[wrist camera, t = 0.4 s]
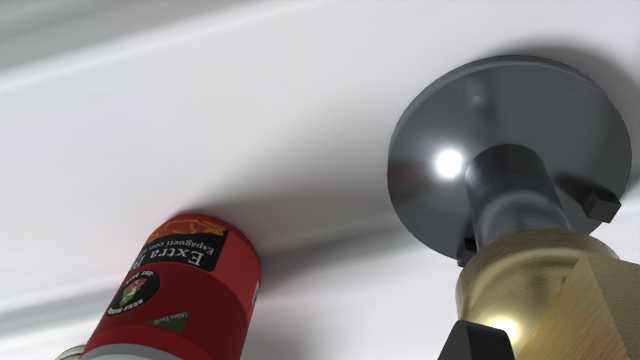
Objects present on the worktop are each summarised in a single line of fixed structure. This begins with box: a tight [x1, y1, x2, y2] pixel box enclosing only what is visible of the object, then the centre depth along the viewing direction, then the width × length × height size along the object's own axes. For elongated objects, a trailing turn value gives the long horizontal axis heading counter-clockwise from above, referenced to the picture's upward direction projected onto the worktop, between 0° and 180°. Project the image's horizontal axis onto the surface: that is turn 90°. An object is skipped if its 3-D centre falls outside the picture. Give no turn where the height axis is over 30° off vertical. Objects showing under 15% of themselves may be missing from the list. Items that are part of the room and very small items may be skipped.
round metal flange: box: [387, 55, 632, 268], centre depth 26 cm, size 12×12×10 cm
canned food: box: [78, 215, 261, 360], centre depth 32 cm, size 8×8×11 cm
